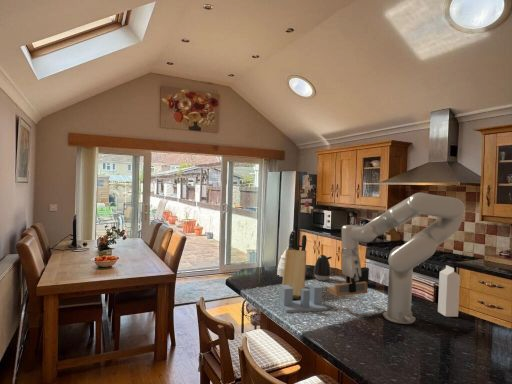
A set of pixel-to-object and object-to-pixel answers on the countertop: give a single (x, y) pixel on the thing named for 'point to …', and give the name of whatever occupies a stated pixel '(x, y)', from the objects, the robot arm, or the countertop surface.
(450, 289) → the milk
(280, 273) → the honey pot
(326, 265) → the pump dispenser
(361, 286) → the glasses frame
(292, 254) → the knife block
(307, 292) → the gray blocky stand
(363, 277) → the pen holder
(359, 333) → the countertop surface
